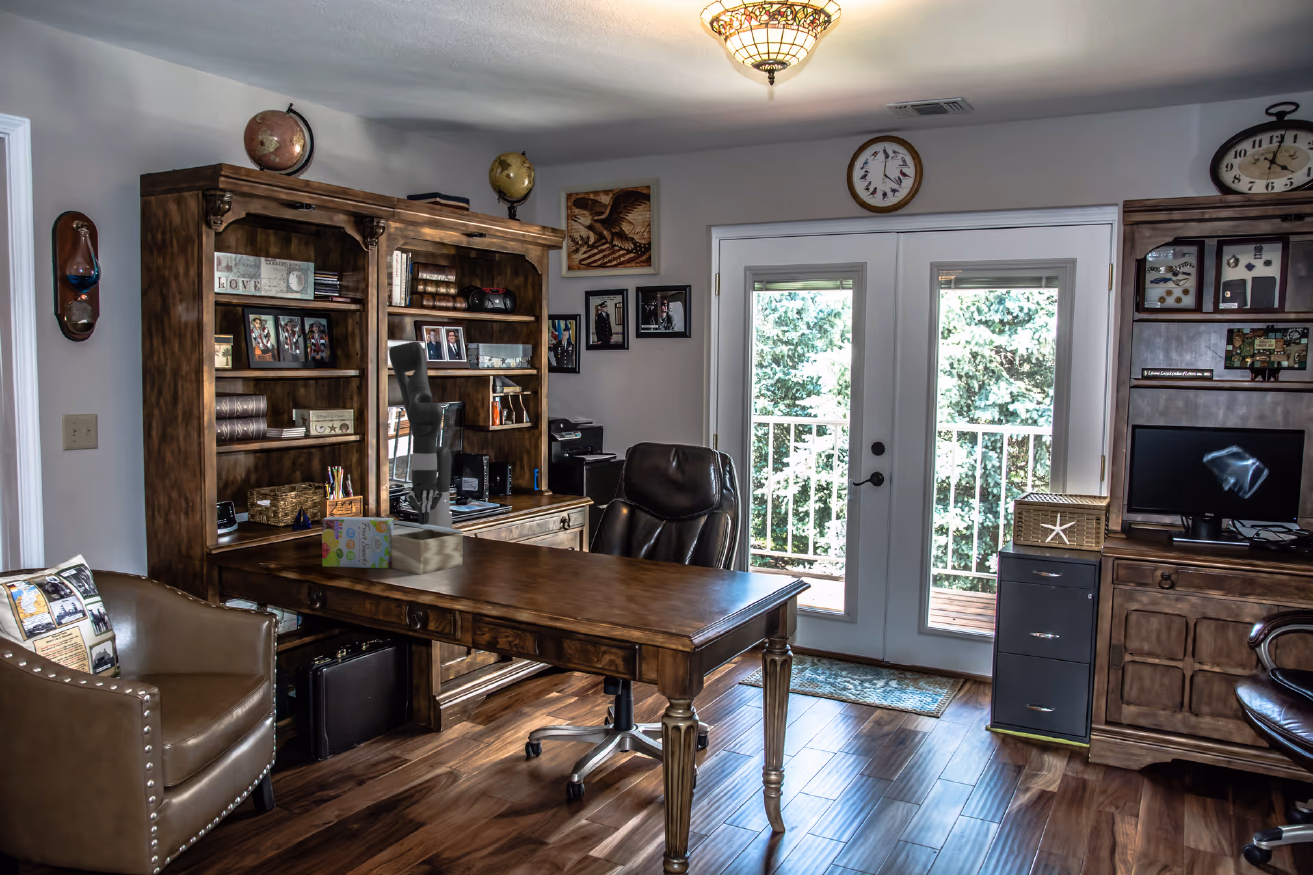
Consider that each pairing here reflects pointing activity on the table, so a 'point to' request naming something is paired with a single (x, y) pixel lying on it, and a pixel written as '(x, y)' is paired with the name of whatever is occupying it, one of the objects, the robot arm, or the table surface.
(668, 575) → the table surface
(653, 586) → the table surface
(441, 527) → the lid
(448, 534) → the wooden box
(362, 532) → the snack box
